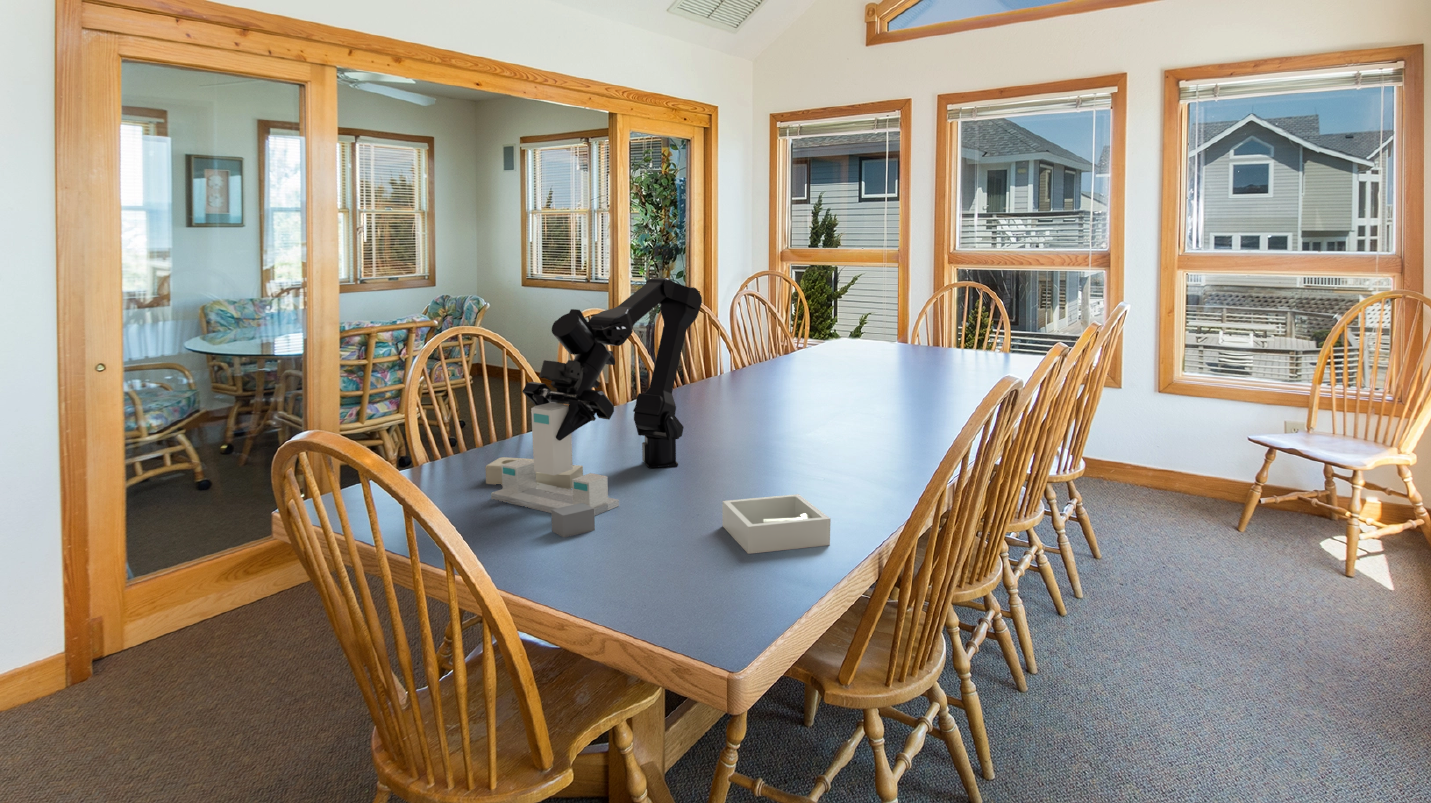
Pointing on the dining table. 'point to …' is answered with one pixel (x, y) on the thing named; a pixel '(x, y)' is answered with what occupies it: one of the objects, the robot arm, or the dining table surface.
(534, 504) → the rail plate
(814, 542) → the parts tray
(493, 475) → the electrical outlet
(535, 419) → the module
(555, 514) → the grey rectangular block
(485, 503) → the dining table surface
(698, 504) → the dining table surface
